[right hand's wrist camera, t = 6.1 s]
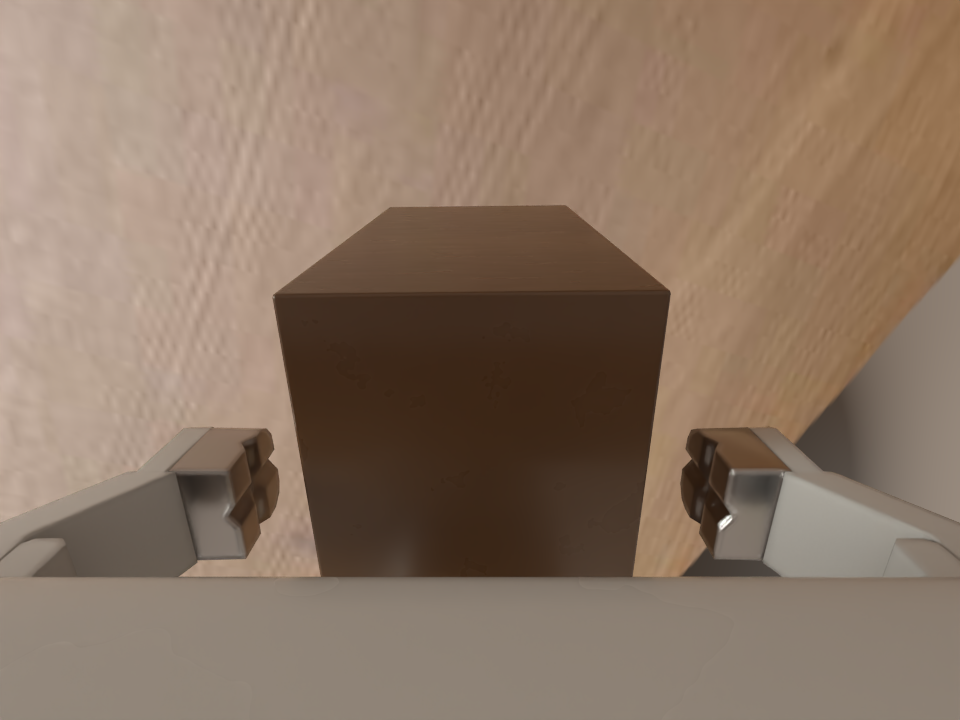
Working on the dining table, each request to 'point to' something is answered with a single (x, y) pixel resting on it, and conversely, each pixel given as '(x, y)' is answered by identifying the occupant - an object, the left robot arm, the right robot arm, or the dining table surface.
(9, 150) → the dining table surface
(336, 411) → the box
